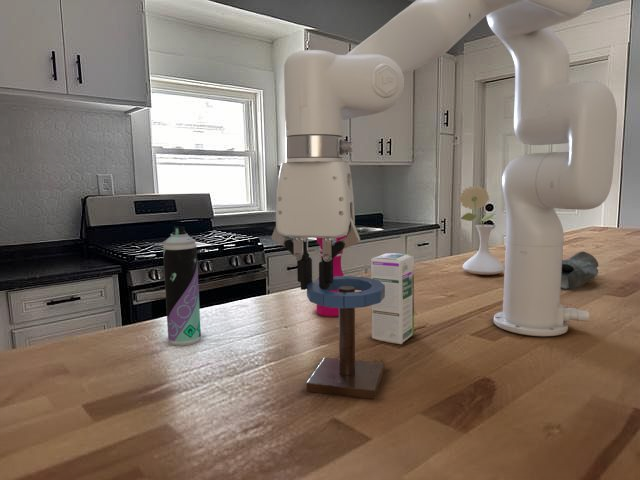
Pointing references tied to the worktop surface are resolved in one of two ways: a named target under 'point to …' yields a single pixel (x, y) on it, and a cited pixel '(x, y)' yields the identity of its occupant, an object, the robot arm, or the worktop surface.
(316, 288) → the ring
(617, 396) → the worktop surface
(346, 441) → the worktop surface
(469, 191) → the flower in vase
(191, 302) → the spray can
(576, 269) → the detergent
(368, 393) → the stand
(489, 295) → the worktop surface
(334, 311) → the pepper mill
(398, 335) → the syrup box
